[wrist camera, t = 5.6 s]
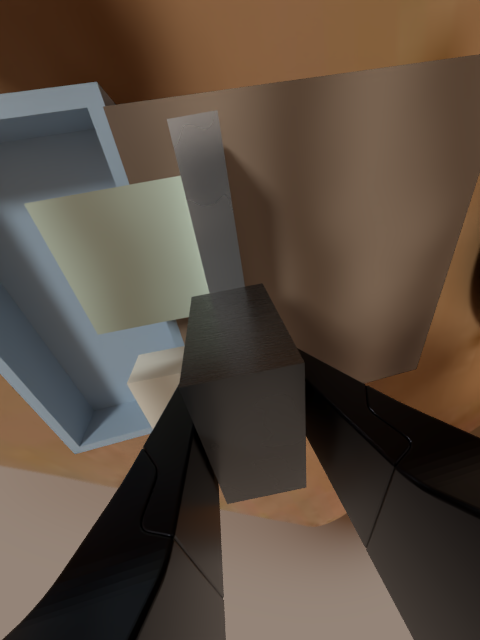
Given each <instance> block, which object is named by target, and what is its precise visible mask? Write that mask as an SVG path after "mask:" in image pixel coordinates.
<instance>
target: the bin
mask: <svg viewBox="0 0 480 640" xmlns="http://www.w3.org/2000/svg"><path fill="white" fill-rule="evenodd" d="M111 105H116V104H115V103H114V102H113V100H112V99H111V98H110V97H109V96H108V94H107V93H106V92H105V91H104V90H103V88H102V87H101V86H100V85H99V84H98V83H97V82H91V83H83V84H76V85H68V86H60V87H52V88H44V89H37V90H29V91H21V92H13V93H5V94H0V374H1V375H2V376H3V377H4V378H5V379H6V380H7V381H8V382H9V384H10V385H11V386H12V387H13V388H14V389H15V390H16V391H17V392H18V393H19V394H20V395H21V397H22V398H23V399H24V400H25V401H26V402H27V403H28V404H29V405H30V406H31V407H32V408H33V409H34V411H35V412H36V413H37V414H38V415H39V416H40V417H41V418H42V419H43V420H44V421H45V422H46V423H47V425H48V426H49V427H50V428H51V429H52V430H53V431H54V432H55V433H56V434H57V435H58V436H59V437H60V439H61V440H62V441H63V442H64V443H65V444H66V445H67V446H68V447H69V448H70V449H71V450H72V451H73V453H74V454H77V453H81V452H84V451H88V450H92V449H95V448H99V447H103V446H106V445H110V444H114V443H117V442H121V441H125V440H128V439H132V438H136V437H139V436H143V435H146V434H150V433H151V432H152V430H153V429H152V427H151V425H150V424H149V422H148V420H147V418H146V417H145V415H144V413H143V411H142V410H141V408H140V406H139V404H138V403H137V401H136V399H135V397H134V396H133V394H132V392H131V390H130V389H129V387H128V385H127V382H128V379H129V377H130V375H131V372H132V370H133V367H134V365H135V362H136V360H137V358H138V355H141V354H146V353H151V352H156V351H161V350H166V349H172V348H177V347H182V346H185V345H184V342H183V339H182V336H181V333H180V330H179V327H178V325H177V322H176V320H171V321H165V322H160V323H155V324H150V325H145V326H140V327H135V328H130V329H125V330H120V331H115V332H109V333H104V334H99V335H98V334H97V332H96V330H95V329H94V327H93V325H92V323H91V322H90V320H89V318H88V316H87V315H86V313H85V311H84V309H83V307H82V306H81V304H80V302H79V300H78V299H77V297H76V295H75V293H74V292H73V290H72V288H71V286H70V284H69V283H68V281H67V279H66V277H65V276H64V274H63V272H62V270H61V269H60V267H59V265H58V263H57V262H56V260H55V258H54V256H53V254H52V253H51V251H50V249H49V247H48V246H47V244H46V242H45V240H44V239H43V237H42V235H41V233H40V231H39V230H38V228H37V226H36V224H35V223H34V221H33V219H32V217H31V216H30V214H29V212H28V210H27V209H26V207H25V205H24V204H25V203H30V202H36V201H41V200H47V199H53V198H58V197H64V196H69V195H75V194H81V193H86V192H92V191H97V190H103V189H108V188H114V187H120V186H125V185H130V184H129V182H128V179H127V176H126V173H125V170H124V167H123V164H122V161H121V158H120V155H119V152H118V149H117V147H116V144H115V141H114V138H113V135H112V132H111V129H110V126H109V123H108V120H107V117H106V114H105V112H104V109H103V106H111Z"/></svg>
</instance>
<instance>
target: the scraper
mask: <svg viewBox="0 0 480 640" xmlns="http://www.w3.org/2000/svg"><path fill="white" fill-rule="evenodd" d="M167 123H168V127H169V131H170V135H171V139H172V143H173V147H174V151H175V155H176V159H177V163H178V167H179V171H180V175H181V180H182V184H183V188H184V192H185V196H186V200H187V204H188V208H189V212H190V216H191V220H192V224H193V228H194V232H195V237H196V241H197V245H198V249H199V253H200V257H201V261H202V265H203V269H204V273H205V277H206V281H207V285H208V289H209V294H204V295H199V296H193V297H192V298H191V305H190V312H189V319H188V326H187V333H186V340H185V347H184V354H183V361H182V368H181V375H180V382H179V390H180V392H181V395H182V397H183V399H184V402H185V404H186V407H187V409H188V411H189V414H190V416H191V419H192V421H193V423H194V426H195V428H196V430H197V433H198V435H199V438H200V440H201V442H202V445H203V447H204V449H205V452H206V454H207V457H208V459H209V461H210V464H211V466H212V469H213V471H214V473H215V476H216V478H217V480H218V483H219V485H220V488H221V490H222V492H223V495H224V497H225V499H226V502H227V504H229V503H234V502H239V501H244V500H248V499H253V498H258V497H263V496H267V495H272V494H277V493H282V492H287V491H291V490H296V489H301V488H306V427H305V362H304V360H303V359H302V357H301V355H300V353H299V351H298V349H297V347H296V345H295V344H294V342H293V340H292V338H291V336H290V334H289V332H288V330H287V328H286V327H285V325H284V323H283V321H282V319H281V317H280V315H279V313H278V311H277V310H276V308H275V306H274V304H273V302H272V300H271V298H270V296H269V294H268V293H267V291H266V289H265V287H264V285H263V283H261V284H256V285H251V286H246V287H245V284H244V278H243V271H242V265H241V258H240V252H239V245H238V239H237V233H236V226H235V220H234V213H233V207H232V200H231V194H230V188H229V181H228V175H227V168H226V162H225V155H224V149H223V143H222V136H221V130H220V123H219V117H218V110H216V111H210V112H204V113H199V114H193V115H187V116H182V117H176V118H170V119H167Z"/></svg>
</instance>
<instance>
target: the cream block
mask: <svg viewBox="0 0 480 640" xmlns="http://www.w3.org/2000/svg"><path fill="white" fill-rule="evenodd" d="M184 347H185V346H182V347H177V348H172V349H166V350H161V351H156V352H151V353H146V354H141V355H138V358H137V360H136V362H135V365H134V367H133V370H132V372H131V375H130V377H129V379H128V382H127V385H128V387H129V389H130V390H131V392H132V394H133V396H134V397H135V399H136V401H137V403H138V404H139V406H140V408H141V410H142V411H143V413H144V415H145V417H146V418H147V420H148V422H149V424H150V425H151V427H152V429H154V427H155V425H156V423H157V422H158V420H159V418H160V416H161V414H162V413H163V411H164V409H165V407H166V406H167V404H168V402H169V400H170V399H171V397H172V395H173V393H174V391H175V390H176V388H177V386H178V384H179V382H180V375H181V368H182V361H183V354H184Z"/></svg>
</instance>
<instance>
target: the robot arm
mask: <svg viewBox="0 0 480 640" xmlns="http://www.w3.org/2000/svg"><path fill="white" fill-rule="evenodd" d="M297 349H298V348H297ZM298 351H299V353H300V355H301V357H302V359H303V360H304V362H305V427H306V437H307V439H308V440H309V442H310V444H311V446H312V448H313V450H314V452H315V454H316V456H317V457H318V459H319V461H320V463H321V465H322V467H323V469H324V471H325V473H326V474H327V476H328V478H329V480H330V482H331V484H332V486H333V488H334V490H335V491H336V493H337V495H338V497H339V499H340V501H341V503H342V505H343V507H344V508H345V510H346V512H347V514H348V516H349V518H350V520H351V522H352V523H353V525H354V527H355V529H356V531H357V533H358V535H359V537H360V538H361V540H362V542H363V544H364V546H365V547H366V548H367V549H366V550H367V552H368V554H369V556H370V558H371V560H372V562H373V563H374V565H375V567H376V569H377V571H378V573H379V575H380V577H381V578H382V580H383V582H384V584H385V586H386V588H387V590H388V592H389V594H390V596H391V597H392V599H393V601H394V603H395V605H396V607H397V609H398V611H399V612H400V614H401V616H402V618H403V620H404V622H405V624H406V626H407V628H408V629H409V631H410V633H411V635H412V637H413V639H414V640H480V438H479V437H477V436H474V435H472V434H470V433H468V432H465V431H463V430H461V429H459V428H456V427H454V426H452V425H450V424H447V423H445V422H443V421H440V420H438V419H436V418H434V417H431V416H429V415H427V414H425V413H422V412H420V411H418V410H416V409H414V408H412V407H409V406H407V405H405V404H403V403H401V402H399V401H397V400H395V399H393V398H391V397H389V396H387V395H385V394H383V393H381V392H379V391H377V390H375V389H373V388H371V387H370V386H366V385H365V384H364V383H362V382H360V381H358V380H356V379H354V378H353V377H351V376H349V375H347V374H345V373H343V372H341V371H340V370H338V369H336V368H334V367H332V366H330V365H328V364H326V363H325V362H323V361H321V360H319V359H317V358H315V357H313V356H312V355H310V354H308V353H306V352H304V351H302V350H300V349H298ZM143 448H144V449H142V450H141V451H140V453H139V455H138V457H137V458H136V460H135V462H134V464H133V465H132V467H131V469H130V470H129V472H128V474H127V475H126V477H125V479H124V480H123V482H122V484H121V485H120V487H119V488H118V490H117V491H116V493H115V494H114V496H113V498H112V499H111V500H110V502H109V504H108V505H107V507H106V508H105V510H104V511H103V512H102V514H101V516H100V517H99V519H98V520H97V522H96V523H95V524H94V526H93V527H92V529H91V530H90V532H89V533H88V535H87V536H86V538H85V539H84V540H83V542H82V543H81V545H80V546H79V548H78V549H77V551H76V552H75V554H74V555H73V557H72V558H71V560H70V561H69V563H68V564H67V566H66V567H65V568H64V570H63V571H62V573H61V574H60V576H59V577H58V578H57V580H56V581H55V583H54V584H53V585H52V587H51V588H50V589H49V590H48V592H47V593H46V594H45V596H44V597H43V598H42V599H41V600H40V602H39V603H38V604H37V605H36V606H35V607H34V609H33V610H32V611H31V612H30V613H29V614H28V615H27V616H26V617H25V618H24V619H23V620H22V621H21V623H20V624H19V625H17V626H16V627H15V628H14V629H13V630H12V631H11V632H10V633H9V634H8V635H7V636H6V637H5V638H4V639H3V640H226V638H225V637H226V636H225V617H224V616H225V615H224V600H223V597H224V594H223V574H222V573H223V572H222V550H221V528H220V506H219V484H218V480H217V478H216V476H215V473H214V471H213V469H212V466H211V464H210V461H209V459H208V457H207V454H206V452H205V449H204V447H203V445H202V442H201V440H200V438H199V435H198V433H197V430H196V428H195V426H194V423H193V421H192V419H191V416H190V414H189V411H188V409H187V407H186V404H185V402H184V399H183V397H182V395H181V392H180V390H179V384H178V386H177V388H176V390H175V391H174V393H173V395H172V397H171V399H170V400H169V402H168V404H167V406H166V407H165V409H164V411H163V413H162V414H161V416H160V418H159V420H158V422H157V423H156V425H155V427H154V429H153V430H152V432H151V434H150V436H149V437H148V439H147V441H146V443H145V445H144V446H143Z"/></svg>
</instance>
